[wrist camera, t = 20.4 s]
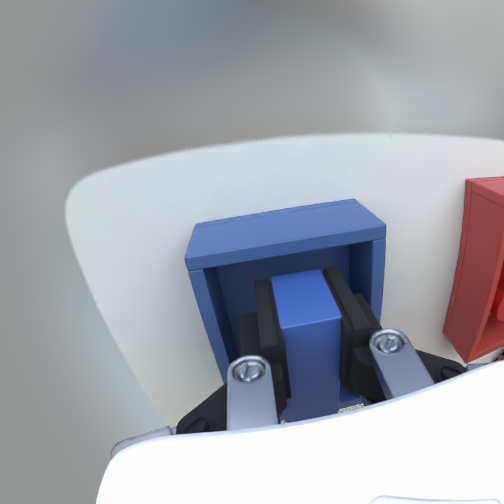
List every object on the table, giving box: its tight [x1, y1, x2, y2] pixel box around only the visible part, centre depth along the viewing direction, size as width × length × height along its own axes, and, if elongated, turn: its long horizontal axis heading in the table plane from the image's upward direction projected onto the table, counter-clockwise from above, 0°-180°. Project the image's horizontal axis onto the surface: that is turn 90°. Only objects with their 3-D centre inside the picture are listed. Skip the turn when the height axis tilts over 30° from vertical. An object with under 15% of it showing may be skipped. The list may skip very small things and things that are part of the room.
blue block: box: [270, 269, 342, 423], centre depth 12 cm, size 8×3×3 cm, turn 9°
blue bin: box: [184, 199, 386, 420], centre depth 15 cm, size 11×8×4 cm
